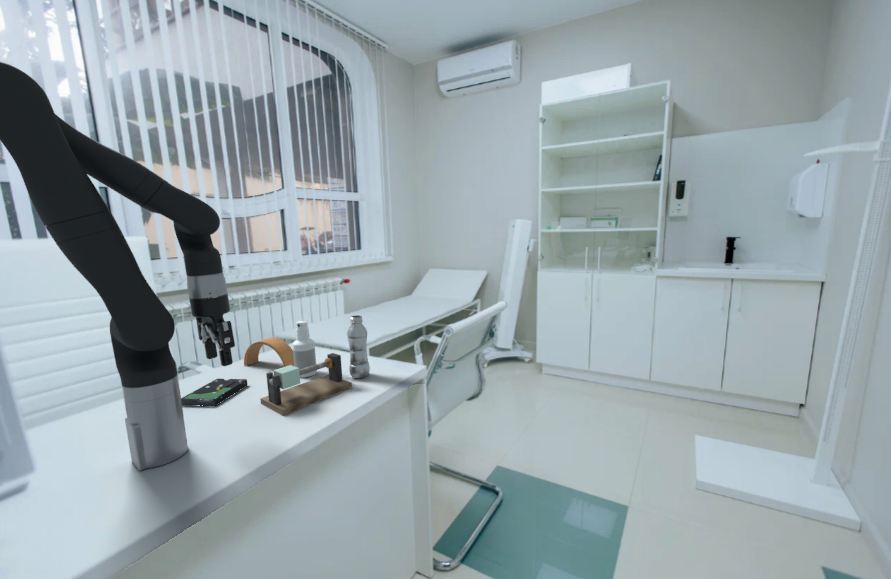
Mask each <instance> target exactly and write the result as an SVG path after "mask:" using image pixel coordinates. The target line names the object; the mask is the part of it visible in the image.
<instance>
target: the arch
mask: <svg viewBox="0 0 891 579" xmlns="http://www.w3.org/2000/svg"><path fill="white" fill-rule="evenodd" d="M263 345H264V346H267V347H269V348H271V349H273V351H275V353H276V354H277V355H278V357H279V359H280V361H281V362H282V365H283V367H286V366H289V365H292V366H294V356H293V348H292V347H291V346H290V345H289V344H288V343H287V342H286V341H285V340H282V339H280V338H278V337H268V338H265V339H263V340H259V341H256V342H254V343H251V345H249V346H248V348H246V351H245V353H244V358H243V366H244V367H247V366H246V365H248V366H250V365H249V364H251V365H253V364H255V362H256V363H257V361H258V362H259V355H260V351H261V349H262V348H263ZM252 363H253V364H252ZM294 367H295V366H294Z"/></svg>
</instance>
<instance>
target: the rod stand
mask: <svg viewBox="0 0 891 579" xmlns="http://www.w3.org/2000/svg"><path fill="white" fill-rule="evenodd" d="M326 357H327V358H325V359H324V361H323V362H319V363H316V365H313V366H310V367H307V368H303V369H300V370H299V374H300V375H303V374H306V373H309V372H312V371H315V370H317V371H318V370H321V369H324V368H327V370H328V374H325V375H323V376H320V377H317V378H314V379H312V380H309V381H306V382H303V383H300V384H297V385H294V386H291V387H288V388H286V389H282V390H281V388H280V382H281V381H280V376H279V375H277V374H276V375H274V372H272V371H270V372H269V371H268V372H266V376H265V377H266V383H267V393H268V395H267V396H264V397H261V398H259V399H260V404H261V405H262V406H263V407H264V406H265V407H266V408H268V409H270V410H272V411H274V412H276V413H277V414H279V415H281V416H286V415H288V414H291V413H293V412H295V411H297V410H300V409H302V408H304V407H307V406H310V405H313V404H314V403H315V404H316V403H317V402H319V401H322V400H325V399H327V398H329V397H332V396H334V395H337V394H339V393H342V392H344V390H345V391H346V390H349V389H352V388H353V382H351V381H348V380H346V379H343V370H342V357H341V354H337V353H334V352H332V353H327V356H326ZM351 387H352V388H351Z"/></svg>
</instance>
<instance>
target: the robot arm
mask: <svg viewBox="0 0 891 579" xmlns="http://www.w3.org/2000/svg"><path fill="white" fill-rule="evenodd" d="M0 142H1V143H2V145H3V146H4V147H5V149H6V150H7V151H8V153H9V154H10V156H11V158H12V160H13V161H14V163H15V164H16V167H17V168H18V170H19V173H20V176H21V178H22V180H23V183H24V186H25V189H26V191H27V193H28V196H29V198H30V200H31V203H32V204H33V207H34V209H35V211H36V212H37V215H38V216H39V218H40V220H41V222H42V224H43V226H44V228H45V229H46V230H47V232H48V234H49V235H50V236H51V238H52V240H53V241H54V243H55V245H56V246H57V247H58V248H59V250H60V251H61V253H62V254H63V255H64V257H66V258H67V260H68V261H69V262H70V264H71V265H73V267H74V268H75V269H76V271H78V272H79V274H80V275H81V276H83V278H84V279H85V280H86V281H87V282H88V283H89V284H90V285H91V286H92V287H93V288H94V290H95V291H96V292H97V294H98V295H99V297H100V298H101V300H102V302H103V303H104V305H105V307H106V309H107V311H108V312H109V316H110V321H109V334H110V341H111V346H112V352H113V357H114V362H115V367H116V369H117V372H118V375H119V378H120V383H121V388H122V395H123V401H124V405H125V406H124V407H125V408H124V409H125V414H126V417H125V419H124V424H125V428H126V434H127V440H128V446H129V452H130V454H129V455H130V458H131V462H132V463H133V464H134V466H135V467H136V468H137V470H138V471H139V472H140V471H144V470H146V469H151V468H155V467H160V466H164V465H167V464H169V463H172V462H174V461H175V460H177V459H179V458H180V457H182V456H184V455H185V454H186V452H187V451H188V448H189V445H188V438H187V432H186V425H185V424H186V423H185V419H184V410H183V406H182V402H181V398H182V396H181V389H180V382H179V376H178V375H179V374H178V368H177V367H178V365H177V363H176V360H175V359H174V357H173V355H172V351H171V349H170V344H169V343H170V341H171V340H172V338H173V336H174V335H175V328H176V327H175V326H176V325H175V319H174V318H173V316H172V314H171V312H170V311H169V310H168V308H166V306H165V304H164V303H163V302H162V301H161V299H160V298H159V296H158V295H157V294H156V293H155V292H154V290H153V288H152V287H151V286H150V285H149V283H148V281H147V280H146V278H145V276H144V274H143V272H142V270H141V268H140V266H139V264H138V261H137V260H136V257H135V256H134V253H133V252H132V249H131V247H130V245H129V244H128V241H127V239H126V237H125V236H124V234H123V232H122V230H121V227H120V226H119V224H118V222H117V220H116V219H115V217H114V216H113V214H112V212H111V210H110V208H109V207H108V205H107V203H106V202H105V200H104V198H102V195H101V194H100V193H99V191H98V189H97V187H96V186H95V184H94V183H93V181H92V179H94V180H96V181H98V182H99V183H101V184H103V185H105V186H106V187H107V188H109V189H111V190H113V191H114V192H116V193H117V194H118V195H121V196H123V197H124V198H126V199H127V200H129V201H131V202H133V203H134V204H135V205H138V206H140V207H141V208H143V209H144V210H146V211H149V212H151V213H154V214H159V215H161V216H163V217H165V218H166V219H169V220H171V221H172V222H173V228H174V233H175V235H176V238H177V242H178V244H179V248H180V250H181V252H182V254H183V255H182V256H183V261H184V268H185V274H186V287H187V292H188V299H189V304H190V305H189V306H190V311H191V315H192V317H194V318H195V320H196V325H197V326H196V327H197V334H198V339H199V341H201V342H202V344H203V346H204V351H205V357H206V359H207V360H212V359H215V358H217V357H218V356H219V360H220V365H221V366H222V367H227V366H231V365H232V364H233V362H234V361H233V356H232V350H231V349H232V348H234V347H236V344H235V338H234V337H235V336H234V331H233V326H232V321H230V320H228V321H225V319H224V315H225V314H228V313H229V312H230V310H231V306H230V301H229V294H228V286H227V281H226V278H225V274H224V270H223V264H222V263H223V262H222V257H221V253H220V251H219V249H217V248H216V247H215V246H214V244H213V240H212V237H211V235H213V234H215V233H216V232H217V231H218V230H219V229H220V226H221V225H220V224H221V219H220V217H219V214H218V212H217V211H216V210H215V209H214V208H213V207H212V206H211V205H209V204H208V203H206V202H205V201H203V200H202V199H199V198H197V197H196V196H194V195H192V194H190V193H188V192H186V191H184V190H182V189H180V188H179V187H176V186H174V185H172V184H171V183H169V182H168V181H167V180H165V179H164V178H162V177H161V176H160V175H159V174H157V173H155V172H154V171H152V170H150V169H149V168H147V167H146V166H144V165H143V164H142V163H140V162H138V161H137V160H135V159H133V158H131V157H129V156H127V155H126V154H124V153H121V152H119V151H118V150H115V149H113V148H111V147H109V146H106V145H105V144H103V143H100V142H98V141H97V140H95V139H93V138H92V137H89V136H88V135H86V134H84V133H83V132H81V131H79V130H78V129H76V128H75V127H74V126H72V125H70V124H69V123H68V122H67V121H65V120H64V119H62V118H61V117H60V116H59V115H58V114H56V112H55V111H54V109H53V106H52V104H51V101H50V98H49V96H48V94H47V93H46V91H45V89H43V87H42V86H41V85H40V84H39V83H38V81H36V80H35V79H34V78H33V77H32V76H30V75H29V74H28V73H27V72H25V71H23V70H22V69H20V68H18V67H15V66H14V65H11V64H8V63H6V62H3V61H0ZM90 177H91V178H92V179H91V178H90ZM217 349H218V350H217ZM218 353H219V355H218Z"/></svg>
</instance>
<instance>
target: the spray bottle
mask: <svg viewBox="0 0 891 579" xmlns="http://www.w3.org/2000/svg"><path fill="white" fill-rule="evenodd" d="M295 327H296V328H295V333H296V334H295V336H296V340H294V341H293V342H292V350H293V356H294V366H295V367H297V368H299V370H300V369H303V368H307V367H310V366H313V365H316V364H317V359H316V345H315V341H314V339H312V338H310V331H309V326H308V321H307V320H306V321H304V320H298V321H296V322H295ZM317 373H318V370H315V371H312V372H309V373H306V374H303V375H300V379H301V378H309V377H312V376H314V375H316V374H317Z"/></svg>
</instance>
